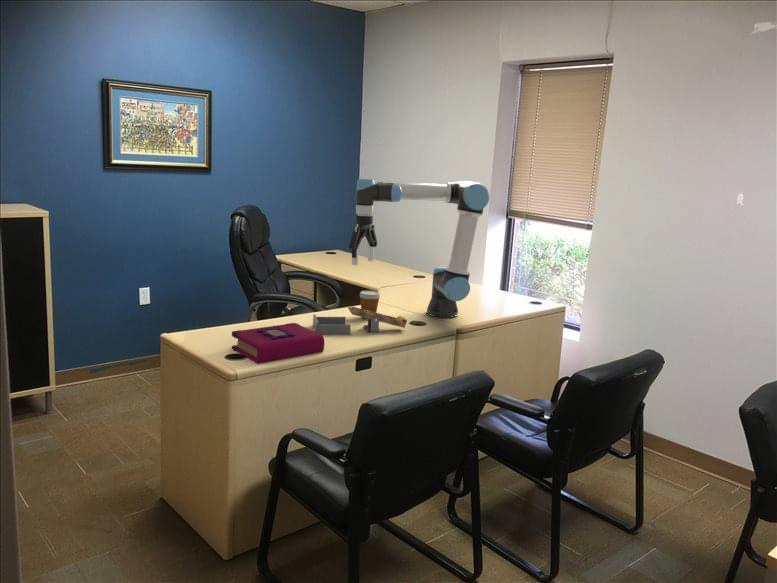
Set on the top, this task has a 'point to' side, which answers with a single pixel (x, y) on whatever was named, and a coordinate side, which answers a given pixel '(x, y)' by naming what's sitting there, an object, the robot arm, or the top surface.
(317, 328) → the tray
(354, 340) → the top surface
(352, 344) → the top surface
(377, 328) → the fulcrum
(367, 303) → the disposable coffee cup
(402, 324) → the lever
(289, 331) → the book
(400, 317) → the ball
